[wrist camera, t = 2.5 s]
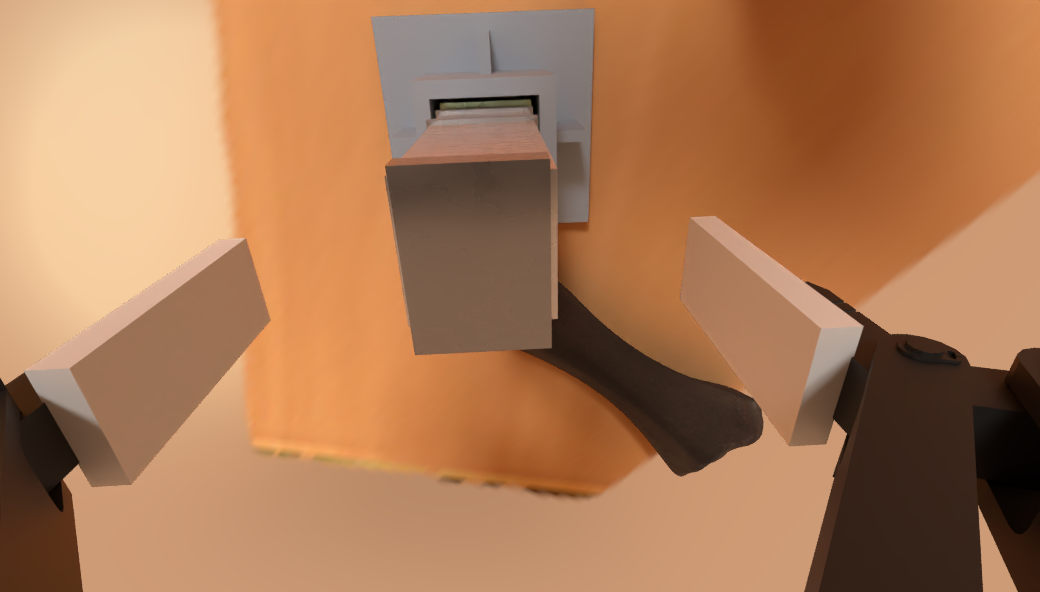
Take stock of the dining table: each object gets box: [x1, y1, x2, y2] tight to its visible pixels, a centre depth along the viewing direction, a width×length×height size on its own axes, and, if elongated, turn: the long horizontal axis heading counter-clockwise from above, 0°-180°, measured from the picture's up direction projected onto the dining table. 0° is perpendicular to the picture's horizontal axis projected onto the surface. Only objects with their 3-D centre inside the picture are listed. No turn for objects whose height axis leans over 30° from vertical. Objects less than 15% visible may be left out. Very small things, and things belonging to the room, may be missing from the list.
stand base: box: [371, 8, 594, 223], centre depth 35 cm, size 16×16×12 cm
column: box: [385, 95, 558, 355], centre depth 26 cm, size 6×6×27 cm
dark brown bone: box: [521, 281, 763, 476], centre depth 48 cm, size 11×10×28 cm
